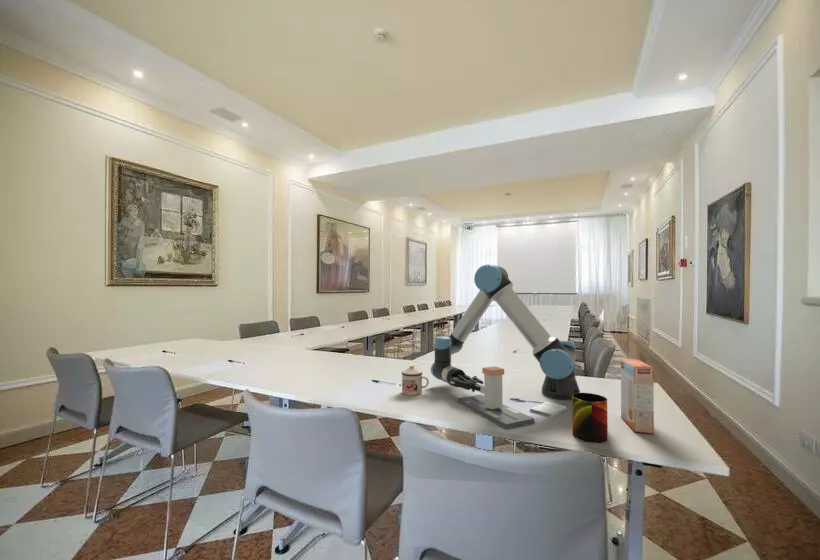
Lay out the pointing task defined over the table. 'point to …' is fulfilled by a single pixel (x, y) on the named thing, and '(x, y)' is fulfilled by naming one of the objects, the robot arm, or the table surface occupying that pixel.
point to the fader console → (496, 412)
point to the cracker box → (637, 395)
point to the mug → (589, 417)
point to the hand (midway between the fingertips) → (487, 390)
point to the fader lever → (493, 387)
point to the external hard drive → (548, 409)
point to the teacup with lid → (412, 381)
